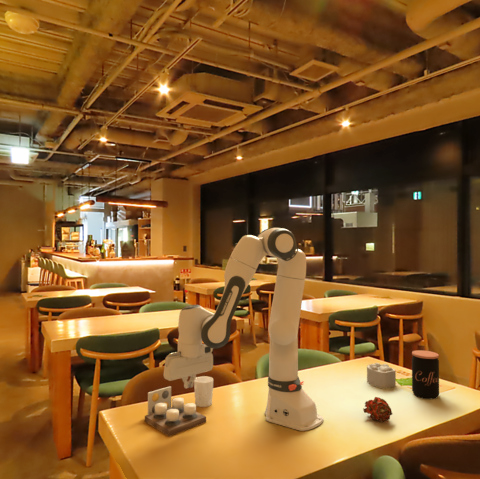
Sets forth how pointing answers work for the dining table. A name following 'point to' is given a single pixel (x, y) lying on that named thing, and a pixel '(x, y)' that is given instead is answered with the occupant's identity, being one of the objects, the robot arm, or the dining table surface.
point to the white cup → (203, 391)
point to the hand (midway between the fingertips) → (188, 387)
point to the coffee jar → (425, 374)
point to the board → (175, 422)
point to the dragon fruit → (378, 409)
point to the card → (159, 398)
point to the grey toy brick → (381, 375)
